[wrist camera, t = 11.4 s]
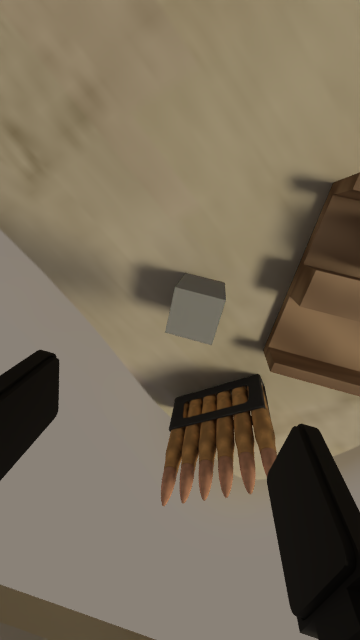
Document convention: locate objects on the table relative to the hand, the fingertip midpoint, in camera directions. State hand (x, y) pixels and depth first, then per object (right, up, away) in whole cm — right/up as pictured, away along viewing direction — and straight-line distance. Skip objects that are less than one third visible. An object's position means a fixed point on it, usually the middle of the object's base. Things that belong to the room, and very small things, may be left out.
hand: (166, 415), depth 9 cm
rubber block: (+3, +6, +15) cm, 17 cm away
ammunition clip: (+5, -5, +19) cm, 21 cm away
